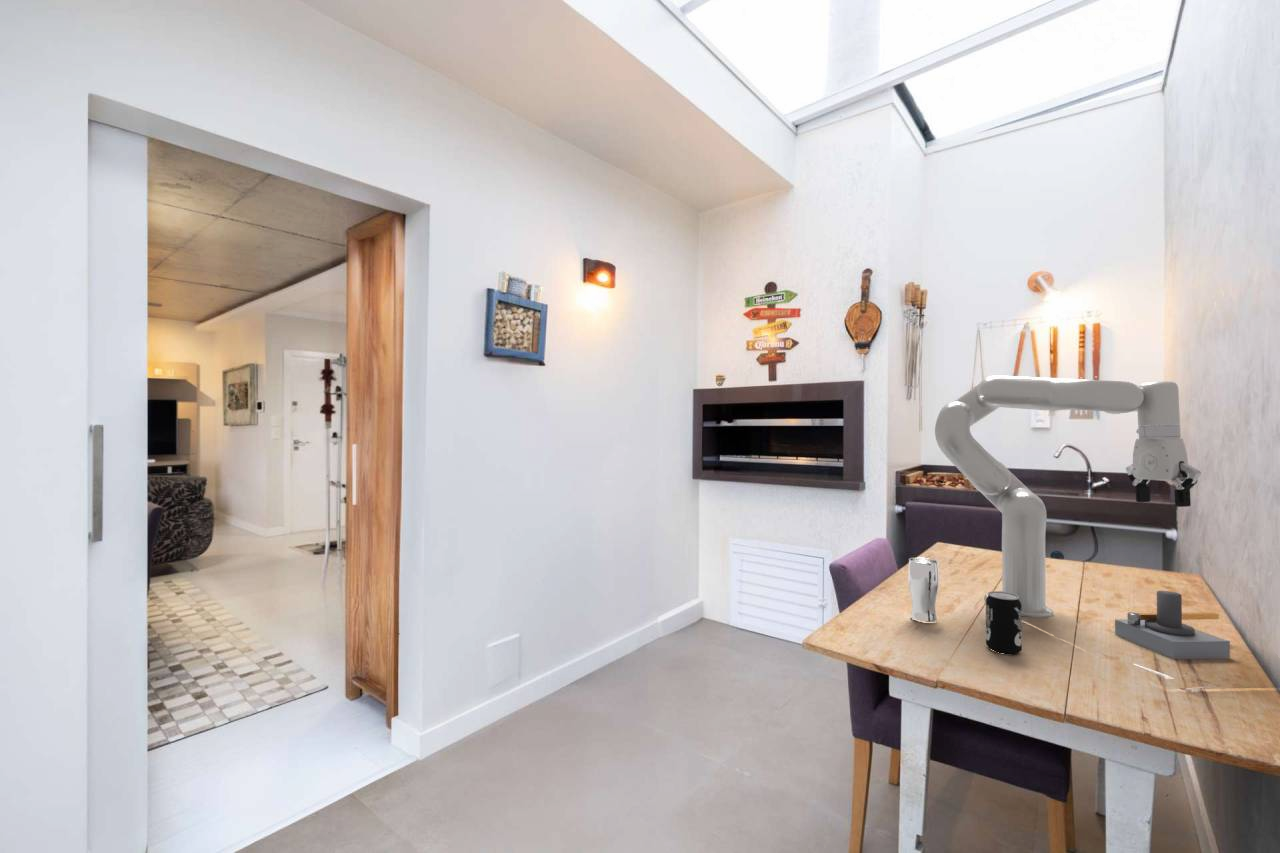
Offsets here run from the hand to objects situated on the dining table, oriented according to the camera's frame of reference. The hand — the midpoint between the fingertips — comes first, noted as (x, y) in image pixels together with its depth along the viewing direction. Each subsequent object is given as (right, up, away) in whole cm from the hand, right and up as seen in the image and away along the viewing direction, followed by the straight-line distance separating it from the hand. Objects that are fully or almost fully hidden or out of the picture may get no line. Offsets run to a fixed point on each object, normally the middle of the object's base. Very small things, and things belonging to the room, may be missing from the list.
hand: (1162, 504), depth 137 cm
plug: (-10, -29, -12) cm, 33 cm away
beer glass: (-54, -30, +6) cm, 63 cm away
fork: (-26, -31, -25) cm, 47 cm away
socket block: (-10, -30, -12) cm, 34 cm away
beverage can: (-47, -30, -13) cm, 57 cm away
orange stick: (-6, -26, -9) cm, 28 cm away
